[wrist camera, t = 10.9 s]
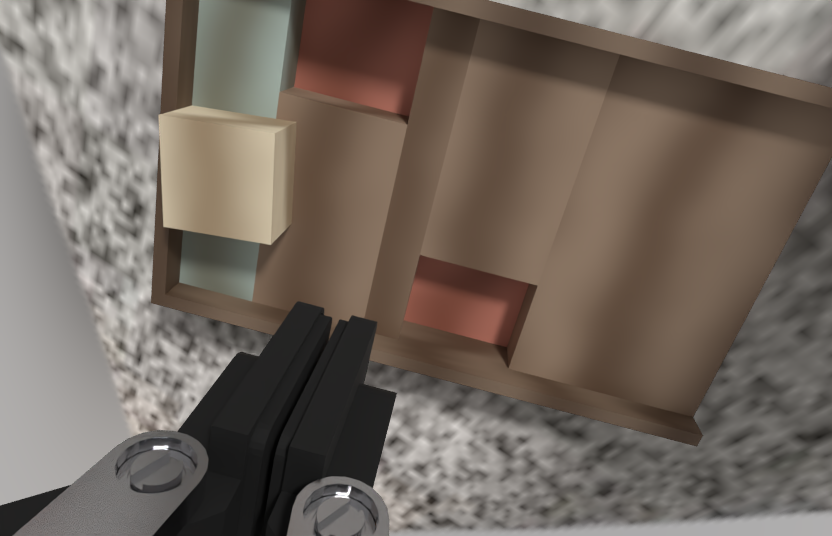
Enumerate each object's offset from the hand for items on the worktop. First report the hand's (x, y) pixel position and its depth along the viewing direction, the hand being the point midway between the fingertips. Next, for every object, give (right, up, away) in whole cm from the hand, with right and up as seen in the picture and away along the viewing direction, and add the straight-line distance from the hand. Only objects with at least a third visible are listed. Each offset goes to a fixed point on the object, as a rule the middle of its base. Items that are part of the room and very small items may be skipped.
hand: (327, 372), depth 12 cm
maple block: (-6, +7, +16) cm, 19 cm away
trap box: (+5, +6, +18) cm, 19 cm away
